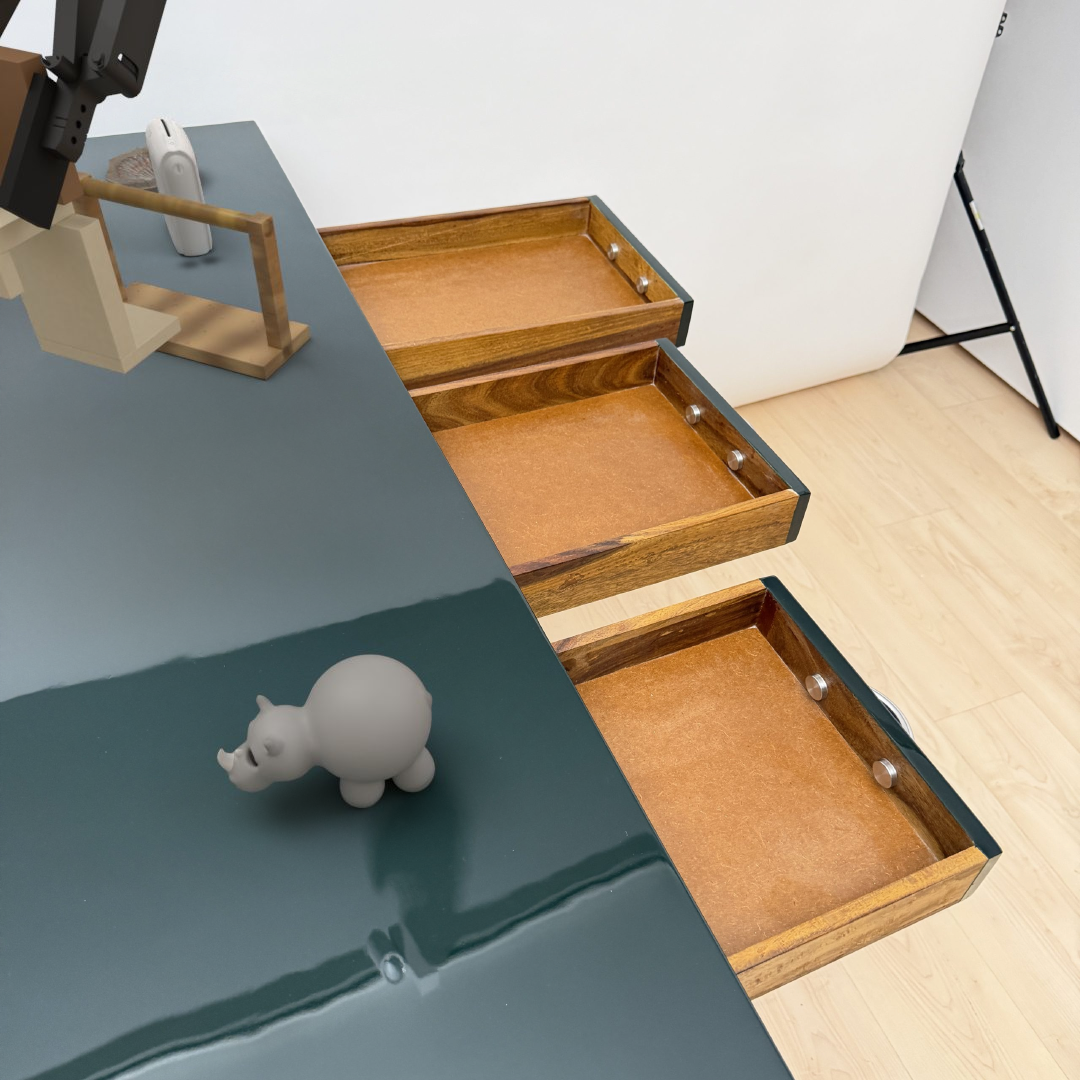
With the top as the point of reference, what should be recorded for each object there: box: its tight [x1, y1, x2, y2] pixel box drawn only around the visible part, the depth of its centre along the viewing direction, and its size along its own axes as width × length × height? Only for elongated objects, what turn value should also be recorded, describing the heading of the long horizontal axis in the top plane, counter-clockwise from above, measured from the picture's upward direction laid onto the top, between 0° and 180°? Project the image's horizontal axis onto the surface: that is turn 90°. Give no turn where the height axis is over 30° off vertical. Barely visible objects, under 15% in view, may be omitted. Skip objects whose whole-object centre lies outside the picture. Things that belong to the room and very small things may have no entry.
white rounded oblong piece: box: [144, 116, 213, 257], centre depth 98 cm, size 10×4×12 cm, turn 25°
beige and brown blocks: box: [0, 45, 181, 375], centre depth 48 cm, size 6×10×17 cm, turn 160°
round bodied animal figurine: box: [216, 653, 436, 809], centre depth 51 cm, size 7×12×8 cm, turn 109°
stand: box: [72, 170, 311, 381], centre depth 83 cm, size 20×8×14 cm, turn 70°
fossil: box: [105, 145, 198, 193], centre depth 110 cm, size 10×12×3 cm
